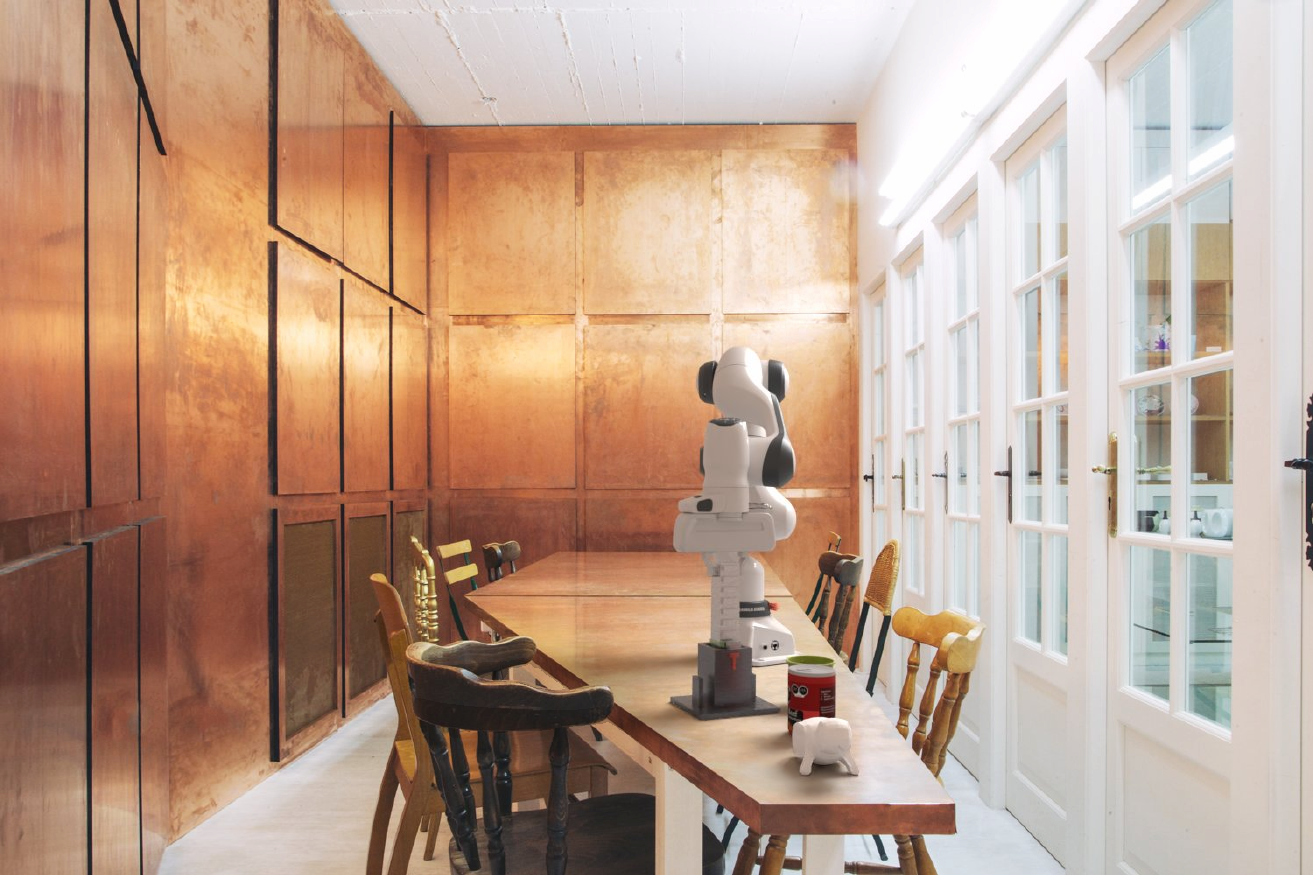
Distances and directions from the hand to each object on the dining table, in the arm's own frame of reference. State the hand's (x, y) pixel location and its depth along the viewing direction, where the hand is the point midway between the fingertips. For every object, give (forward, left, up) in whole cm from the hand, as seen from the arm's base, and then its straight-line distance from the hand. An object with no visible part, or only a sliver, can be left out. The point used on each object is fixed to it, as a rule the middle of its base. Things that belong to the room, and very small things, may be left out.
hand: (724, 576), depth 168 cm
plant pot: (-16, +4, -25) cm, 30 cm away
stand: (0, 0, -24) cm, 24 cm away
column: (0, 0, -17) cm, 17 cm away
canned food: (-6, +21, -25) cm, 33 cm away
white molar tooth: (+2, +37, -25) cm, 45 cm away
